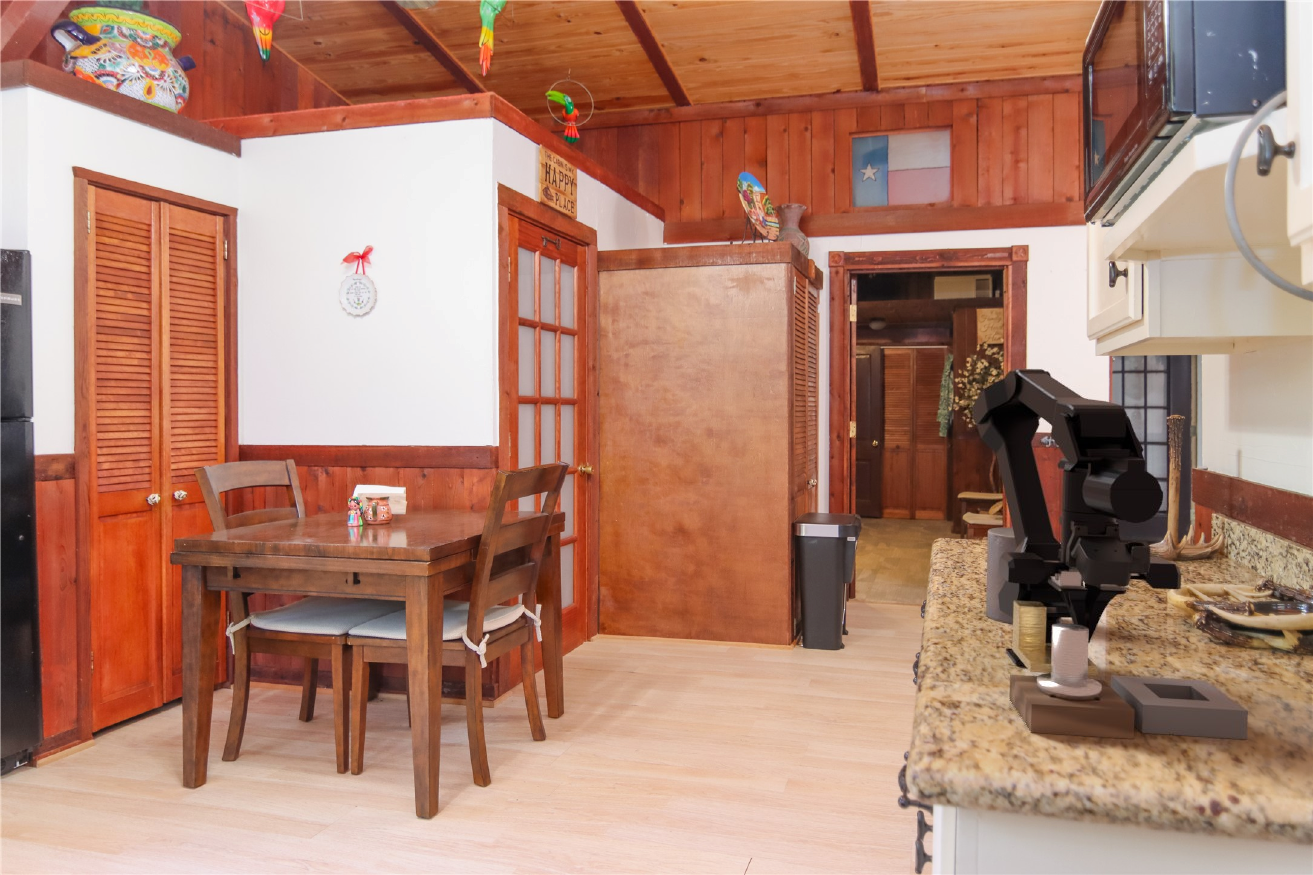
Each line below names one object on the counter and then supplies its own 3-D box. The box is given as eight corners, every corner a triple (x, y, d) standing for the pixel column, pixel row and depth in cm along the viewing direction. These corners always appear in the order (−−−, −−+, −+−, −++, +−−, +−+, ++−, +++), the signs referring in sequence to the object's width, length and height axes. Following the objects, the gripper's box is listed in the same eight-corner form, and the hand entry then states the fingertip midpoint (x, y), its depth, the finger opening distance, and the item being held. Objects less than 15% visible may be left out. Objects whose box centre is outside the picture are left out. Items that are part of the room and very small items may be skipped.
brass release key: (1012, 649, 110) (1013, 600, 110) (1073, 652, 109) (1075, 603, 108) (1030, 671, 101) (1031, 618, 101) (1097, 675, 100) (1099, 621, 100)
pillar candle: (1008, 607, 150) (1009, 517, 149) (1064, 619, 142) (1066, 524, 141) (973, 616, 144) (974, 522, 143) (1029, 629, 136) (1031, 530, 136)
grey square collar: (1110, 700, 104) (1111, 674, 104) (1204, 706, 103) (1205, 680, 103) (1142, 732, 95) (1143, 704, 94) (1246, 739, 93) (1247, 710, 93)
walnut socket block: (1009, 700, 104) (1010, 674, 104) (1102, 705, 103) (1102, 679, 103) (1030, 732, 94) (1031, 703, 94) (1133, 738, 93) (1134, 710, 93)
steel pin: (1029, 706, 102) (1031, 619, 102) (1090, 710, 101) (1092, 621, 101) (1044, 727, 96) (1046, 633, 96) (1109, 730, 95) (1111, 636, 95)
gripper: (1022, 517, 100) (1018, 658, 100) (1205, 523, 97) (1199, 667, 98) (999, 505, 111) (995, 631, 111) (1163, 509, 108) (1158, 639, 109)
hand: (1084, 642), depth 107 cm, fingers closed
